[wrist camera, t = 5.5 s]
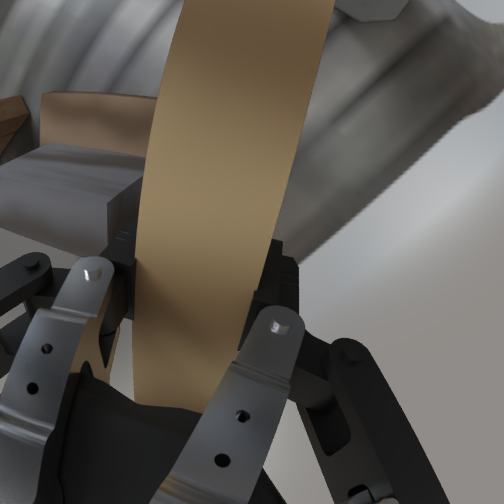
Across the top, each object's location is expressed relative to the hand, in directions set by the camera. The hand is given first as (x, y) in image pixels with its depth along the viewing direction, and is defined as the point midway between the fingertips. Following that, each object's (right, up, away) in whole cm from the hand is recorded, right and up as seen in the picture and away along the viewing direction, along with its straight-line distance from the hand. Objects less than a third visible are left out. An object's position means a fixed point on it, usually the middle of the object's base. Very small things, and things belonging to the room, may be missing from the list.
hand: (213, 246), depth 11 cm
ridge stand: (-14, +9, +18) cm, 24 cm away
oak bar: (0, 0, +2) cm, 2 cm away
